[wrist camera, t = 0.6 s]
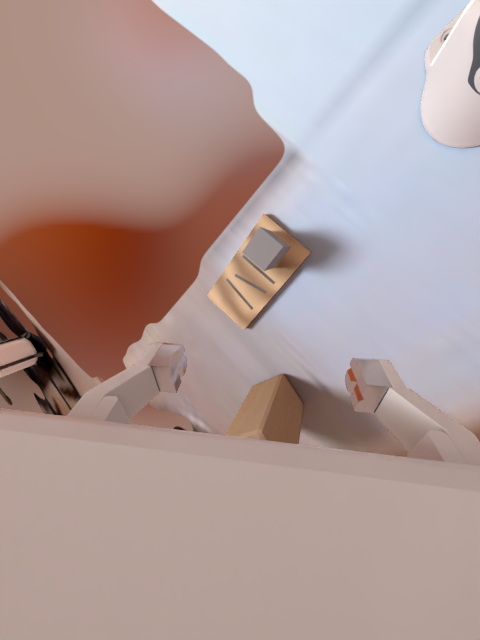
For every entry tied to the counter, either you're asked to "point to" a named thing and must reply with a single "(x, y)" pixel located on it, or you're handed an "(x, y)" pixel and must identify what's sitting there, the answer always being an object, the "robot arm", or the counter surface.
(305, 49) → the counter surface
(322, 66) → the counter surface
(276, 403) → the wooden block
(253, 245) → the block
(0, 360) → the coffee press
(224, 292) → the board
